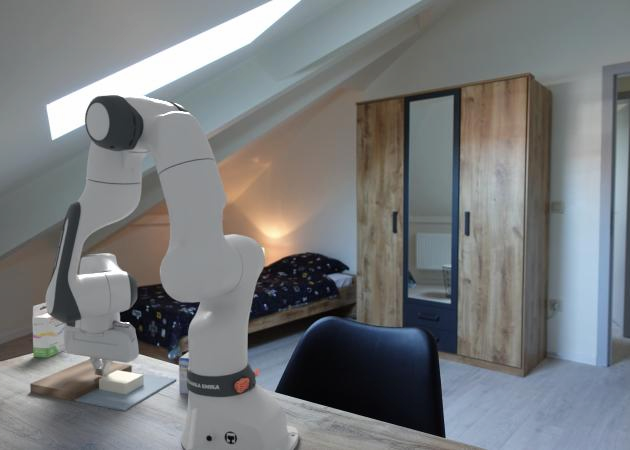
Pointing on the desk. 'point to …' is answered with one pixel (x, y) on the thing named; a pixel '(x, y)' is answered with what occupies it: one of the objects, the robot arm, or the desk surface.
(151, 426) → the desk surface
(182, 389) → the medicine box
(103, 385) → the tile
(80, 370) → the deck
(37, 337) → the ink box
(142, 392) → the mat
